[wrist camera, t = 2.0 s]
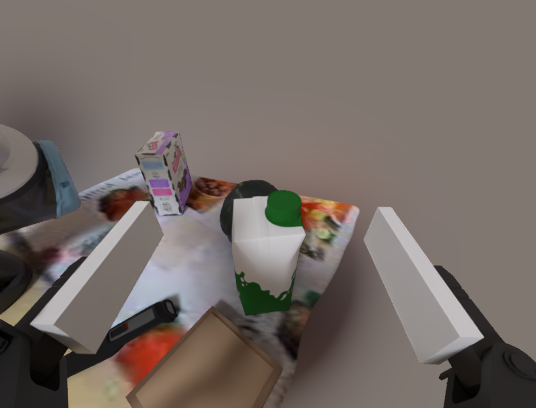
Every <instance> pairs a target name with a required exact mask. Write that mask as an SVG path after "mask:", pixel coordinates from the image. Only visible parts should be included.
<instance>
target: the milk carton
mask: <svg viewBox="0 0 536 408" xmlns="http://www.w3.org/2000/svg"><path fill="white" fill-rule="evenodd" d="M300 210H301V198H300V197H299V196H298V195H297V194H295V193H293V192H291V191H285V190H280V191H275V192H273V193H271V194H270V195H269V196H265V197H261V196H257V197H253V198H245V199H234V206H233V222H232V255H233V263H234V270H235V277H236V284H237V290H238V293H239V296H240V299H241V303H242V306H243V309H244V312H245V315H253V314H260V313H268V312H275V311H283V310H289V307H290V301H291V296H292V290H293V285H294V279H295V273H296V267H297V262H298V256H299V250H300V247H301V244H302V242H303V240H304V238H305V236H306V234H305V231H304V229H303V228H304V226H303V223H302V217H301V212H300Z"/></svg>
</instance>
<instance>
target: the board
mask: <svg viewBox="0 0 536 408" xmlns="http://www.w3.org/2000/svg"><path fill="white" fill-rule="evenodd" d="M281 373H282V367H281V366H280V365H279V364H278V363H276V362H275V361H274V360H273V359H272V358H271V357H270V356H268V355H267V354H266V353H265V352H264V351H263V350H262V349H260V348H259V347H258V346H257V345H256V344H255V343H254V342H253V341H251V340H250V339H249V338H248V337H247V336H246V335H245V334H243V333H242V332H241V331H240V330H239V329H238V328H237V327H235V326H234V325H233V324H232V323H231V322H230V321H229V320H228V319H226V318H225V317H224V316H223V315H222V314H221V313H220V312H218V311H217V310H216V309H215V308H214V307H213V306H212V307H211V308H210V309H209V310H208V311H207V312H206V313H205V314H204V315H203V316H202V317H201V318H200V319H199V320H198V321H197V322H196V323H195V325H194V326H193V327H192V328H191V329H190V330H189V331H188V332H187V333H186V334H185V335H184V336H183V337H182V338H181V339H180V340H179V341H178V342H177V343H176V345H175V346H174V347H173V348H172V349H171V350H170V351H169V352H168V353H167V354H166V355H165V356H164V357H163V358H162V359H161V360H160V361H159V362H158V364H157V365H156V366H155V367H154V368H153V369H152V370H151V371H150V372H149V373H148V374H147V375H146V376H145V377H144V378H143V379H142V380H141V381H140V382H139V384H138V385H137V386H136V387H135V388H134V389H133V390H132V391H131V392H130V393H129V394H128V395H127V396H126V399H127V400H128V402H129V404H130V405H131V407H132V408H262V407H263V406H264V404H265V402H266V400H267V398H268V396H269V395H270V393H271V391H272V389H273V387H274V385H275V384H276V382H277V380H278V378H279V376H280V374H281Z"/></svg>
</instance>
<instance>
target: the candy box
mask: <svg viewBox="0 0 536 408" xmlns="http://www.w3.org/2000/svg"><path fill="white" fill-rule="evenodd" d="M135 157H136V159H137V162H138V165H139V167H140V170H141V172H142V175H143V177H144V180H145V183H146V185H147V187H148V190H149V192H150V195H151V197H152V200H153V203H154V205H155V208H156V210H157V213H158V215H159V216H167V215H182V214H183V211H184V208H185V205H186V202H187V199H188V196H189V194H190V191H191V188H192V182H191V178H190V174H189V170H188V166H187V162H186V158H185V154H184V150H183V146H182V142H181V138H180V134H179V132H155V135H154V136H153V137H152V138H151V139H150V140H149V141H148V142H147V143H146V144H145V145H144V146H143V147H142V148H141V149H140V150H139V151H138V152H137V153H136V154H135Z"/></svg>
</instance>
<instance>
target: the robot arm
mask: <svg viewBox="0 0 536 408" xmlns="http://www.w3.org/2000/svg"><path fill="white" fill-rule="evenodd" d="M80 204H81V201H80V198H79V195H78V192H77V190H76V188H75V185H74V183H73V181H72V178H71V176H70V174H69V172H68V170H67V167H66V165H65V163H64V162H63V159H62V157H61V155H60V153H59V151H58V149H57V148H56V146H55V144H54V143H53V142H51V141H49V140H34V141H33V142H31V141H30V140H29V139H28V138H27V137H26V136H25V135H23V134H22V133H20V132H18V131H17V130H15V129H13V128H10V127H7V126H5V125H2V124H0V235H1V234H4V233H7V232H11V231H14V230H17V229H20V228H23V227H27V226H30V225H33V224H36V223H40V222H43V221H46V220H49V219H52V218H54V219H57V218H59V217H60V216H62V215H65V214H67V213H70V212H73V211H75V210H77V209H78V208H79V207H80ZM163 235H164V234H163V232H162V229H161V227H160V225H159V222H158V220H157V218H156V215H155V213H154V210H153V208H152V206H151V203H150V201H136V202H135V203H134V204H133V206H132V207H131V208H130V209H129V210H128V211H127V213H126V214H125V215H124V216H123V217H122V218H121V219H120V221H119V222H118V223H117V224H116V225H115V226H114V228H113V229H112V230H111V231H110V232H109V233H108V234H107V236H106V237H105V238H104V239H103V240H102V241H101V243H100V244H99V245H98V246H97V247H96V248H95V249H94V251H93V252H92V253H91V254H90V255H89V256H88V257H81V258H80V259H79V260H77V261H76V262H74V263H73V264H72V265H70V266H69V267H68V268H67V269H66V271H65V272H64V273H63V274H62V275H61V276H60V278H59V279H57V280H56V281H55V283H54V284H53V285H52V287H51V288H49V289H48V290H47V291H46V292H45V293H44V295H43V296H42V297H41V298H40V299H39V300H38V301H37V302H36V303H35V304H34V306H33V307H32V308H31V309H30V310H29V311H28V312H27V313H26V314H25V315H24V316H23V318H22V319H21V320H20V321H19V322H18V323H17V324H16V325H15V326H14V327H13V326H12V325H10V324H8V323H6V322H5V321H3V320H1V319H0V408H68V387H67V363H66V358H65V356H64V354H65V352H66V351H67V349H68V348H69V349H71V350H72V351H74V352H75V353H80V354H96V352H97V350H98V349H99V347H100V345H101V343H102V342H103V340H104V338H105V336H106V335H107V333H108V331H109V329H110V328H111V326H112V324H113V322H114V321H115V319H116V317H117V315H118V314H119V312H120V310H121V308H122V307H123V305H124V303H125V301H126V300H127V298H128V296H129V294H130V293H131V291H132V289H133V287H134V286H135V284H136V282H137V280H138V279H139V277H140V275H141V273H142V272H143V270H144V268H145V266H146V265H147V263H148V261H149V259H150V258H151V256H152V254H153V253H154V251H155V249H156V247H157V246H158V244H159V242H160V240H161V239H162V237H163ZM364 242H365V244H366V247H367V249H368V251H369V253H370V255H371V257H372V260H373V262H374V264H375V266H376V268H377V270H378V273H379V275H380V277H381V279H382V281H383V283H384V286H385V288H386V290H387V293H388V295H389V297H390V299H391V301H392V304H393V305H394V308H395V310H396V312H397V314H398V317H399V319H400V321H401V323H402V325H403V328H404V330H405V332H406V334H407V336H408V339H409V341H410V343H411V345H412V347H413V350H414V352H415V354H416V356H417V358H418V360H419V363H420V364H438V365H439V364H441V363H442V362H444V361H446V360H448V361H449V363H450V364H451V366H452V368H450V369H448V370H446V371H445V372H443V373H441V374H440V376H439V379H440V380H443V379H446V378H447V377H448V382H447V388H446V395H445V402H444V408H536V362H535V361H533V359H531V358H530V357H529V356H528V355H527V354H526V353H524V352H523V351H521V350H520V349H518V348H516V347H514V346H512V345H510V344H506V343H505V342H504V341H503V340H502V338H501V337H500V336H499V335H498V334H497V332H496V331H495V330H494V328H493V327H492V326H491V325H490V323H489V322H488V321H487V319H486V318H485V317H484V315H483V314H482V313H481V312H480V310H479V309H478V308H477V306H476V305H475V304H474V303H473V301H472V300H471V299H469V296H468V295H467V293H466V292H465V291H464V290H463V289H462V288H461V286H460V284H459V283H458V282H457V281H456V279H455V278H454V277H453V275H451V274H450V273H449V272H448V271H447V270H445V269H444V268H443V267H442V266H433V265H432V264H431V262H430V261H429V260H428V258H427V257H426V255H425V254H424V253H423V251H422V250H421V248H420V247H419V246H418V244H417V243H416V241H415V240H414V239H413V237H412V236H411V235H410V233H409V232H408V230H407V229H406V227H405V226H404V225H403V223H402V222H401V220H400V219H399V218H398V216H397V215H396V213H395V212H394V211H393V209H392V208H391V207H378V208H377V210H376V213H375V215H374V217H373V219H372V222H371V224H370V226H369V229H368V231H367V233H366V235H365V238H364ZM31 276H32V269H31V267H30V266H29V265H28V264H27V263H26V262H25V261H24V260H23V259H21V258H20V257H18V256H16V255H13V254H11V253H8V252H5V251H2V250H0V313H1V312H3V311H4V310H5V309H6V308H7V307H9V306H10V305H11V304H12V303H13V302H14V301H15V300H16V299H17V298H18V297H19V296H20V295H21V294H22V292H23V291H24V290H25V288H26V287H27V285H28V283H29V282H30V279H31Z"/></svg>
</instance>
